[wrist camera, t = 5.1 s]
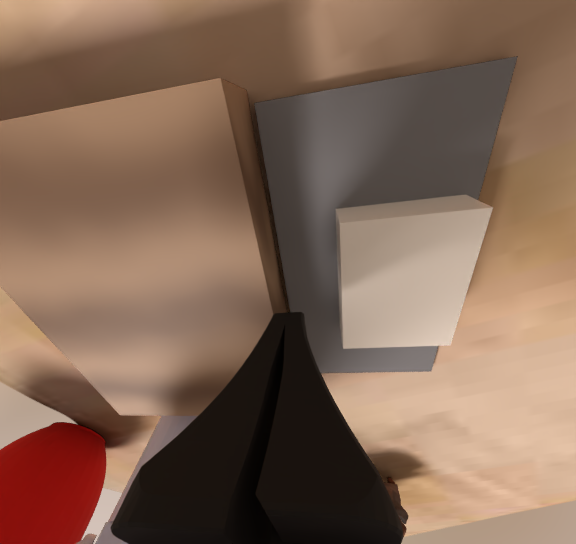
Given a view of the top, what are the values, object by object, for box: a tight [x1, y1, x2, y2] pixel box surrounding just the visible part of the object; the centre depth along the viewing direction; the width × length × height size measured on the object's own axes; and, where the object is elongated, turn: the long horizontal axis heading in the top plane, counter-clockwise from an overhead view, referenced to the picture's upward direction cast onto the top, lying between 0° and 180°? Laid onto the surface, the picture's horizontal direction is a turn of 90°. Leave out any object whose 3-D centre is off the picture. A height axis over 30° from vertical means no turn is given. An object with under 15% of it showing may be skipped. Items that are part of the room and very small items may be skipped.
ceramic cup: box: [0, 422, 106, 544], centre depth 27 cm, size 13×17×10 cm
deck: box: [0, 78, 287, 416], centre depth 15 cm, size 19×14×4 cm
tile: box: [336, 194, 493, 349], centre depth 13 cm, size 8×6×2 cm
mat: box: [254, 56, 518, 373], centre depth 14 cm, size 18×10×1 cm, turn 8°
